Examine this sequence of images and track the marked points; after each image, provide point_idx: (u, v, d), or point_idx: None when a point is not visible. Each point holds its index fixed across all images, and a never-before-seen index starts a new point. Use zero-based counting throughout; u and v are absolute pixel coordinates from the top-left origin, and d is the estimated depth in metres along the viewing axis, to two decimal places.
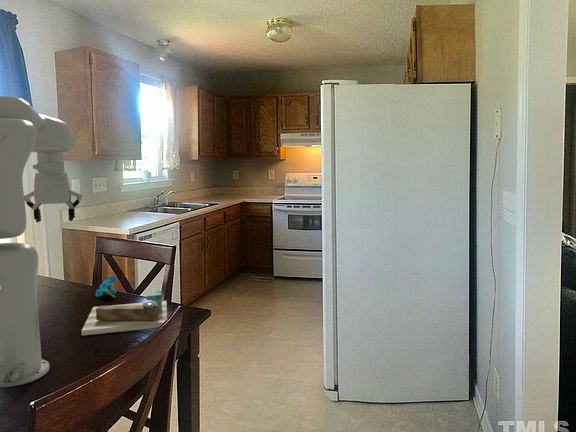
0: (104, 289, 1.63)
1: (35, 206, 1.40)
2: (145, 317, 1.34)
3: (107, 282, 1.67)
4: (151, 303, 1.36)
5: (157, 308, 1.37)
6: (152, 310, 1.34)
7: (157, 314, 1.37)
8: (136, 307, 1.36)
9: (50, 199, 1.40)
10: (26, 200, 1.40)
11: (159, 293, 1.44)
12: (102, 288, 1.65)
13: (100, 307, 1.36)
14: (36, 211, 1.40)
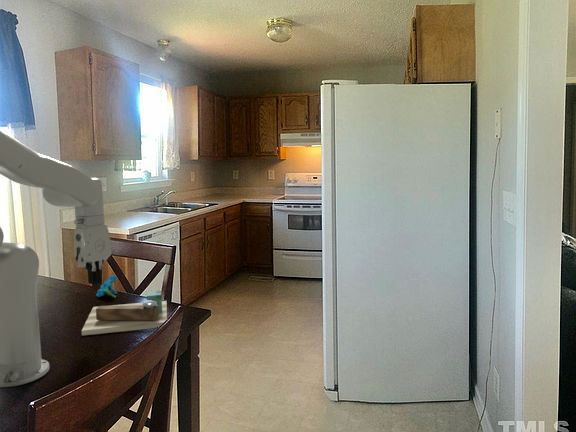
0: (104, 289, 1.63)
1: (95, 267, 1.26)
2: (145, 317, 1.34)
3: (108, 282, 1.67)
4: (151, 303, 1.36)
5: (157, 308, 1.37)
6: (152, 310, 1.34)
7: (157, 314, 1.37)
8: (136, 307, 1.36)
9: (99, 255, 1.26)
10: (84, 265, 1.23)
11: (159, 293, 1.44)
12: (103, 288, 1.66)
13: (100, 307, 1.36)
14: (97, 272, 1.26)
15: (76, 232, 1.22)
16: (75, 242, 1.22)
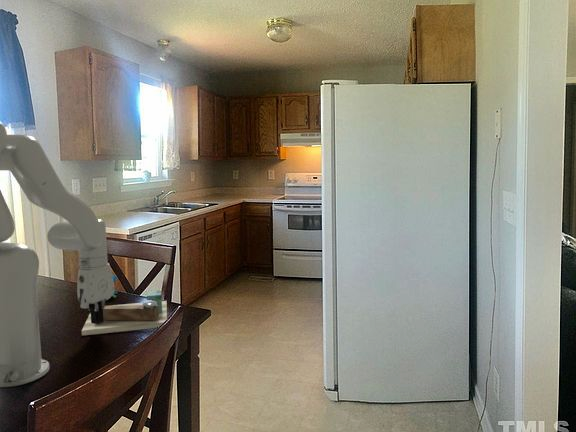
0: None
1: (98, 307, 1.28)
2: (145, 317, 1.34)
3: None
4: (151, 303, 1.36)
5: (157, 308, 1.37)
6: (152, 310, 1.34)
7: (157, 314, 1.37)
8: (136, 307, 1.36)
9: (102, 295, 1.27)
10: (87, 306, 1.25)
11: (159, 293, 1.44)
12: None
13: None
14: (99, 312, 1.28)
15: (79, 274, 1.23)
16: (78, 283, 1.24)
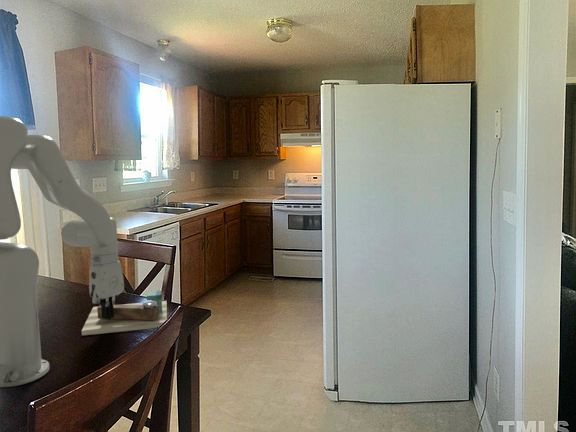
0: None
1: (109, 302, 1.32)
2: (145, 317, 1.34)
3: None
4: (151, 303, 1.36)
5: (157, 308, 1.37)
6: (151, 310, 1.34)
7: (157, 314, 1.37)
8: (136, 307, 1.36)
9: (113, 291, 1.31)
10: (99, 301, 1.29)
11: (159, 293, 1.44)
12: None
13: None
14: (110, 307, 1.32)
15: (91, 270, 1.28)
16: (90, 279, 1.28)
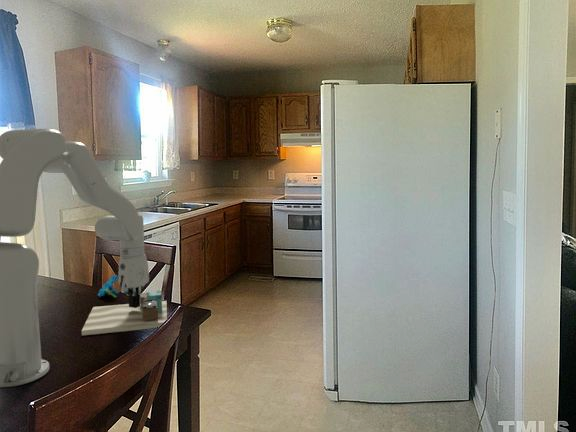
0: (105, 289, 1.63)
1: (135, 292, 1.43)
2: (142, 314, 1.36)
3: (109, 282, 1.67)
4: (151, 303, 1.36)
5: (153, 311, 1.35)
6: (143, 310, 1.34)
7: (152, 317, 1.35)
8: None
9: (140, 282, 1.43)
10: (127, 291, 1.40)
11: (159, 293, 1.44)
12: (104, 288, 1.66)
13: (144, 293, 1.50)
14: (137, 297, 1.44)
15: (121, 262, 1.39)
16: (120, 270, 1.39)
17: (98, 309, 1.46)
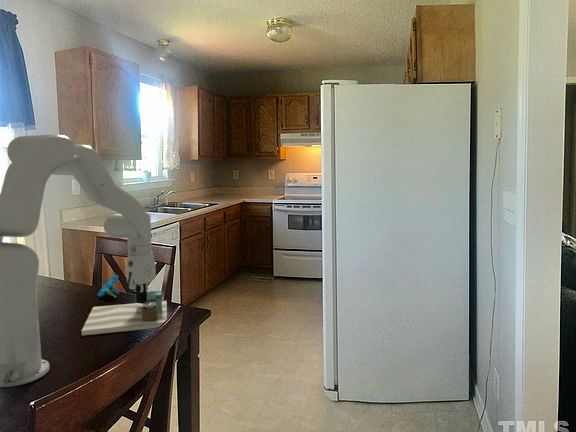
0: (105, 289, 1.63)
1: (143, 288, 1.47)
2: None
3: (110, 282, 1.67)
4: (151, 303, 1.36)
5: (152, 311, 1.34)
6: (142, 310, 1.34)
7: (151, 317, 1.34)
8: None
9: (147, 278, 1.47)
10: (135, 287, 1.44)
11: (159, 293, 1.44)
12: (104, 288, 1.66)
13: None
14: (144, 293, 1.47)
15: (129, 259, 1.43)
16: (128, 267, 1.43)
17: (98, 309, 1.46)
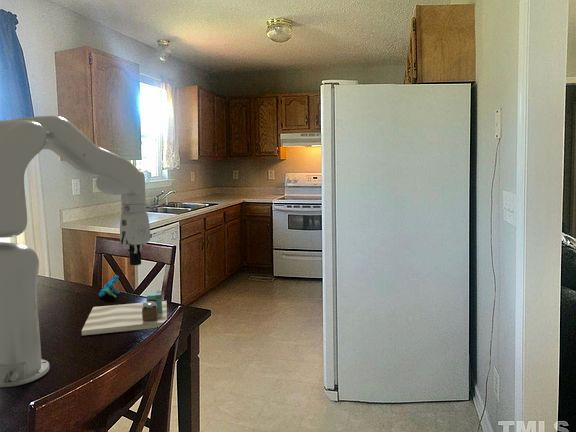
0: (106, 289, 1.63)
1: (137, 249, 1.43)
2: None
3: (110, 282, 1.67)
4: (151, 303, 1.36)
5: (152, 311, 1.34)
6: (142, 310, 1.34)
7: (151, 317, 1.34)
8: None
9: (141, 239, 1.43)
10: (128, 247, 1.40)
11: (159, 293, 1.44)
12: (105, 288, 1.66)
13: None
14: (138, 254, 1.43)
15: (122, 218, 1.39)
16: (121, 227, 1.39)
17: (98, 309, 1.46)
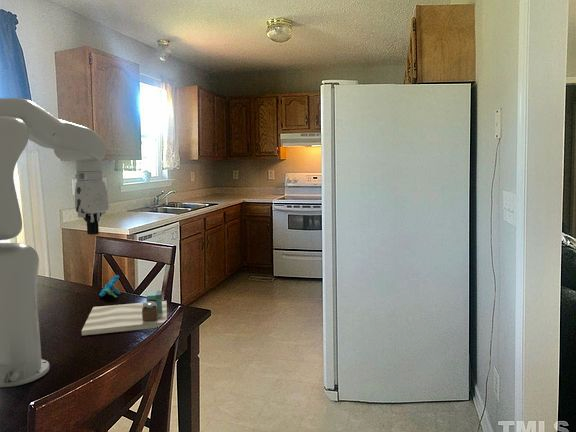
0: (106, 289, 1.63)
1: (94, 218, 1.41)
2: None
3: (111, 282, 1.67)
4: (151, 303, 1.36)
5: (152, 311, 1.34)
6: (142, 310, 1.34)
7: (151, 317, 1.34)
8: None
9: (98, 208, 1.40)
10: (84, 216, 1.38)
11: (159, 293, 1.44)
12: (106, 288, 1.66)
13: None
14: (95, 223, 1.41)
15: (77, 186, 1.36)
16: (76, 195, 1.37)
17: (98, 309, 1.46)
